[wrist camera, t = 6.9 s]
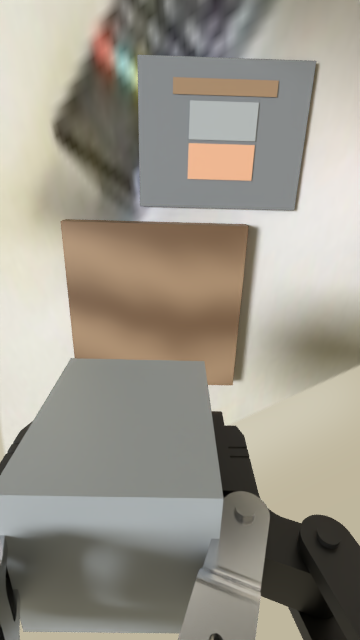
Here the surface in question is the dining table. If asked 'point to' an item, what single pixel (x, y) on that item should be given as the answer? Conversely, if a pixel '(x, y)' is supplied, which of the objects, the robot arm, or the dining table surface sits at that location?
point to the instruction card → (222, 131)
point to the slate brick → (113, 498)
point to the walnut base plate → (156, 291)
